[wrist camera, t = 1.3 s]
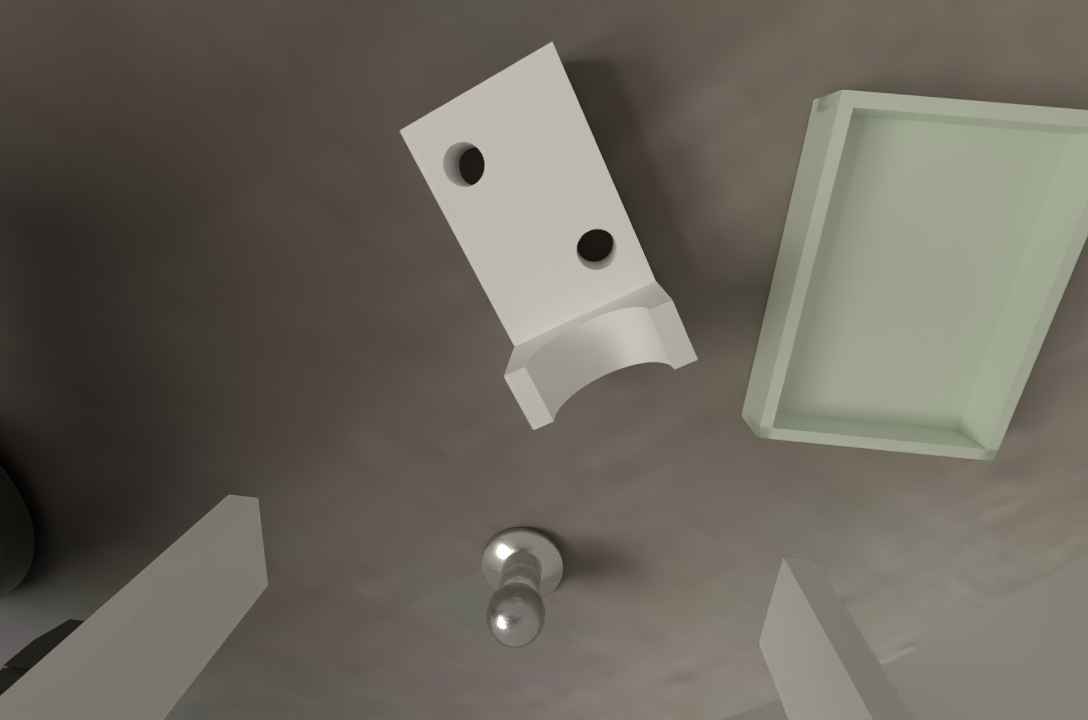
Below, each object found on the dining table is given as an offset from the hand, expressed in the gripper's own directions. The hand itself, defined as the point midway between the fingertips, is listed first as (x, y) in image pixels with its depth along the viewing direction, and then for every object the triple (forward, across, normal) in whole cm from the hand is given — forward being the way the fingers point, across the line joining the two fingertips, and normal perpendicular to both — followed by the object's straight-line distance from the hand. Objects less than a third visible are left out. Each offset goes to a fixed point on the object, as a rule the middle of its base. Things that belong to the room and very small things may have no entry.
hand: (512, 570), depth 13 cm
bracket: (+16, -1, +7) cm, 18 cm away
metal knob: (+16, 0, -13) cm, 20 cm away
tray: (+16, +17, +6) cm, 24 cm away
